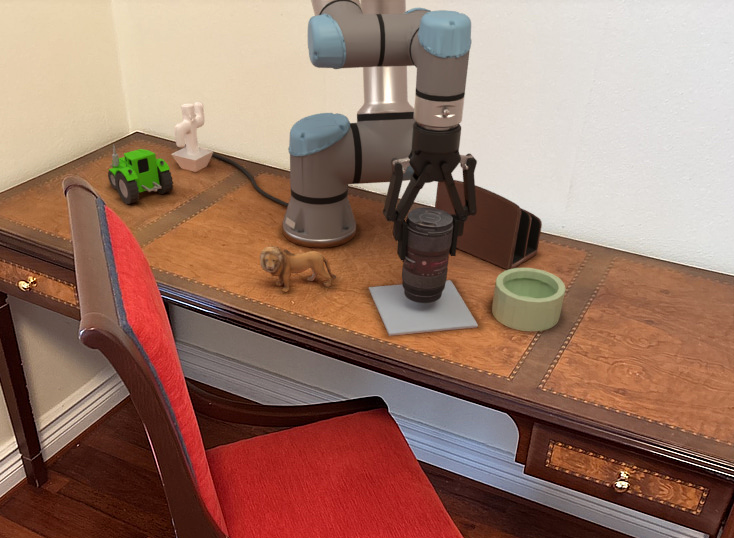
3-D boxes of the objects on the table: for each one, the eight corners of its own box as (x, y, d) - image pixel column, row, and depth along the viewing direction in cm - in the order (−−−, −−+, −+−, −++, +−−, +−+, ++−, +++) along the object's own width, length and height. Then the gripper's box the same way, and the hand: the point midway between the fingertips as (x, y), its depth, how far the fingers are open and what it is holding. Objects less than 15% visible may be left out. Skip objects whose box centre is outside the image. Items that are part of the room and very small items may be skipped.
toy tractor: (141, 175, 188) (135, 133, 182) (179, 197, 179) (174, 153, 173) (99, 187, 182) (91, 144, 176) (135, 210, 173) (129, 166, 167)
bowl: (482, 299, 147) (486, 270, 144) (543, 293, 149) (549, 265, 146) (505, 334, 138) (510, 304, 134) (570, 328, 140) (576, 298, 136)
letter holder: (509, 271, 156) (520, 204, 147) (430, 238, 166) (436, 173, 157) (537, 254, 162) (549, 188, 153) (459, 223, 172) (466, 160, 163)
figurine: (169, 170, 191) (161, 107, 182) (194, 158, 198) (188, 96, 188) (193, 176, 188) (187, 112, 179) (218, 164, 195) (212, 101, 186)
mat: (368, 289, 149) (368, 287, 149) (450, 282, 152) (451, 280, 152) (389, 336, 137) (389, 333, 136) (477, 327, 140) (478, 325, 139)
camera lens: (443, 308, 139) (451, 229, 130) (397, 302, 140) (402, 223, 131) (448, 285, 145) (456, 208, 136) (404, 280, 146) (409, 203, 137)
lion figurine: (266, 300, 145) (264, 255, 140) (257, 286, 149) (254, 242, 143) (341, 285, 150) (341, 241, 144) (330, 272, 154) (330, 229, 148)
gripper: (376, 134, 119) (371, 269, 133) (510, 127, 123) (491, 260, 137) (366, 117, 125) (362, 249, 139) (493, 111, 129) (477, 240, 142)
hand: (426, 254), depth 138 cm, fingers closed on camera lens, 8 cm apart
